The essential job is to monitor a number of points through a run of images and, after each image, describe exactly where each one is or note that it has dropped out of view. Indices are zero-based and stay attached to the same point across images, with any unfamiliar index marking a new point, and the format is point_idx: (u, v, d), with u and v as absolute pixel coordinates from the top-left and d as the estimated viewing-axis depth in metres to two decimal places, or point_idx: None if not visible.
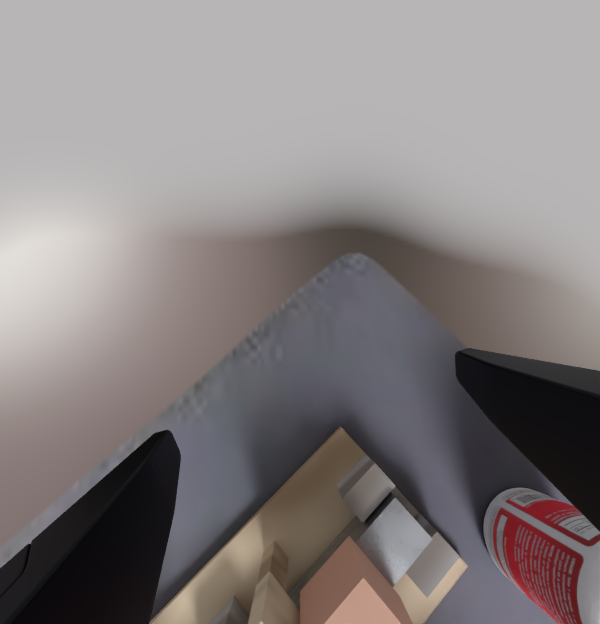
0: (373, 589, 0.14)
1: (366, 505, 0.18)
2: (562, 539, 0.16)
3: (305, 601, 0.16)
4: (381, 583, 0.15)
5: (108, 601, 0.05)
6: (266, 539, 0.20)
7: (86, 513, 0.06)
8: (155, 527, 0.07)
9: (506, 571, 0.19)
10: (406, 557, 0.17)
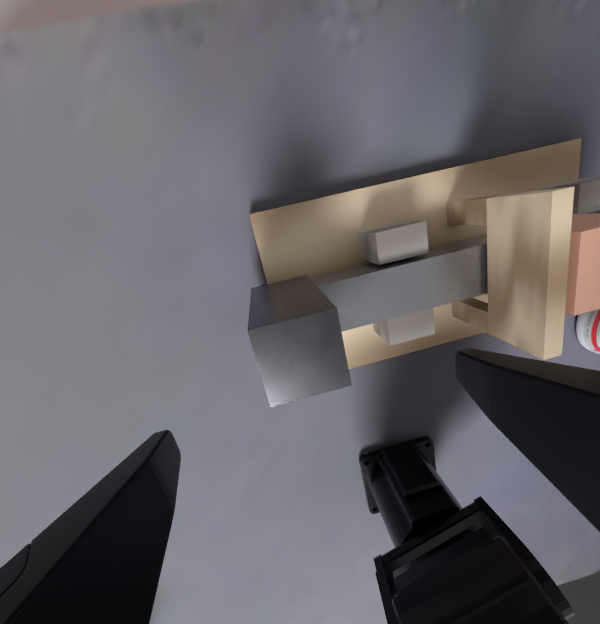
0: None
1: (591, 203, 0.17)
2: None
3: None
4: None
5: (108, 601, 0.05)
6: (454, 193, 0.19)
7: (86, 513, 0.06)
8: (155, 527, 0.07)
9: None
10: None
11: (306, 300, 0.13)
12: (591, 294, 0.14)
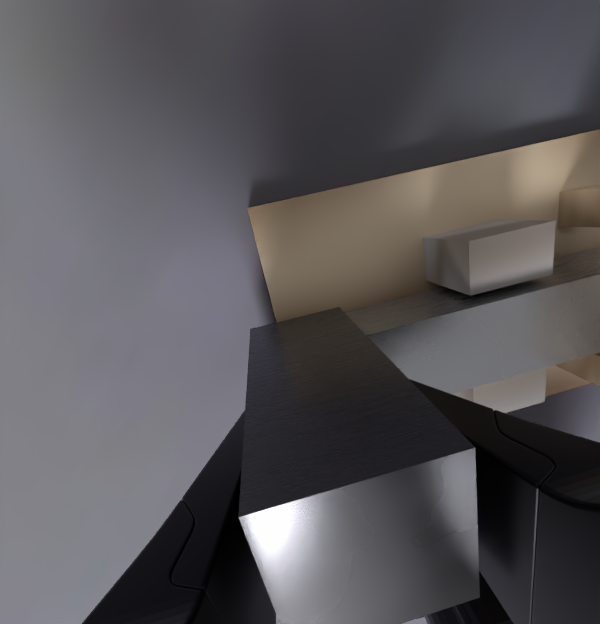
0: None
1: None
2: None
3: None
4: None
5: None
6: (574, 177, 0.12)
7: (225, 473, 0.06)
8: None
9: None
10: None
11: (367, 389, 0.06)
12: None
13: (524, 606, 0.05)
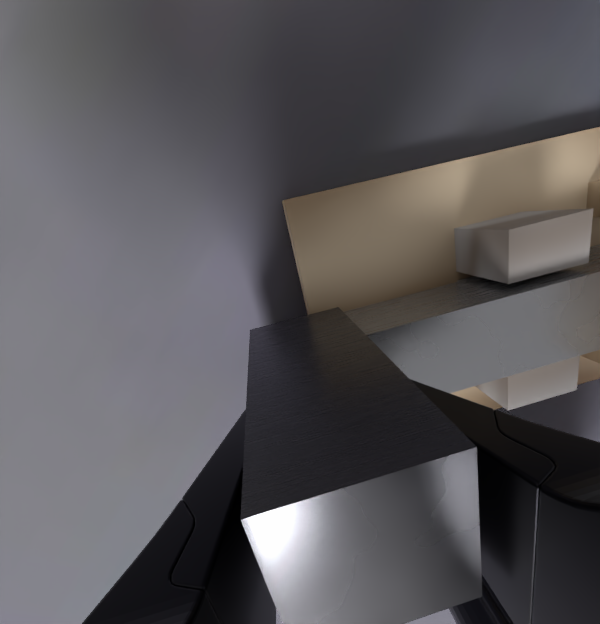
0: None
1: None
2: None
3: None
4: None
5: None
6: None
7: (225, 473, 0.06)
8: None
9: None
10: None
11: (368, 389, 0.06)
12: None
13: (525, 606, 0.05)
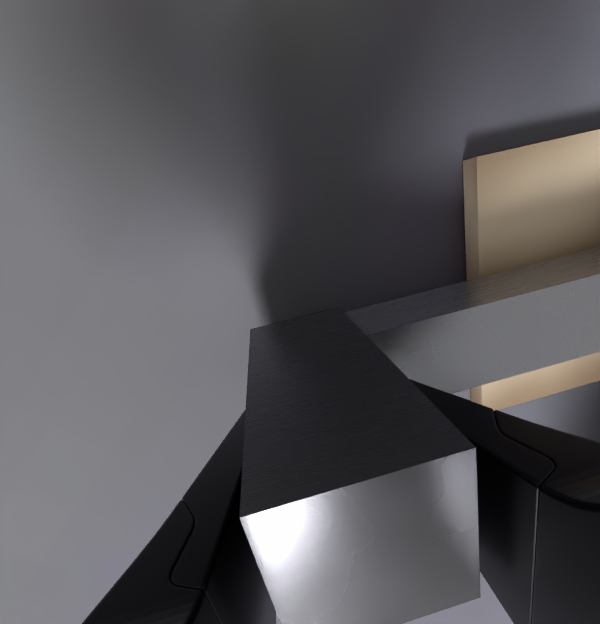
0: None
1: None
2: None
3: None
4: None
5: None
6: None
7: (225, 473, 0.06)
8: None
9: None
10: None
11: (368, 389, 0.06)
12: None
13: (524, 606, 0.05)
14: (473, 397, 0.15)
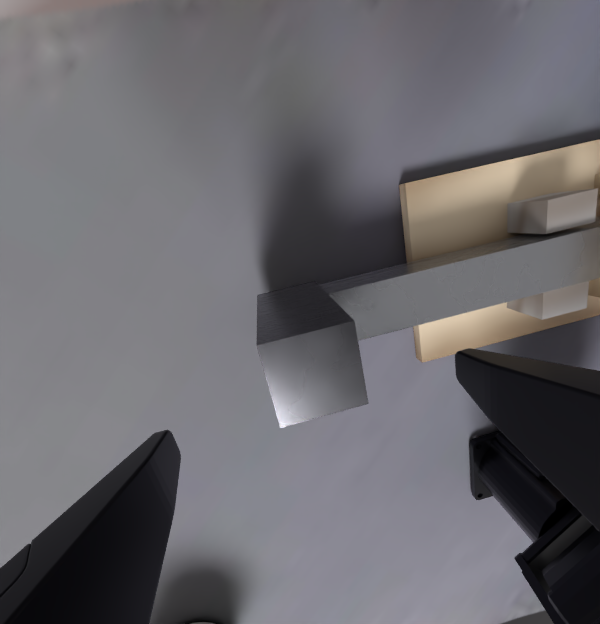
0: None
1: None
2: None
3: None
4: None
5: (108, 601, 0.05)
6: None
7: (86, 513, 0.06)
8: (155, 527, 0.07)
9: None
10: None
11: (318, 310, 0.12)
12: None
13: None
14: (417, 350, 0.21)
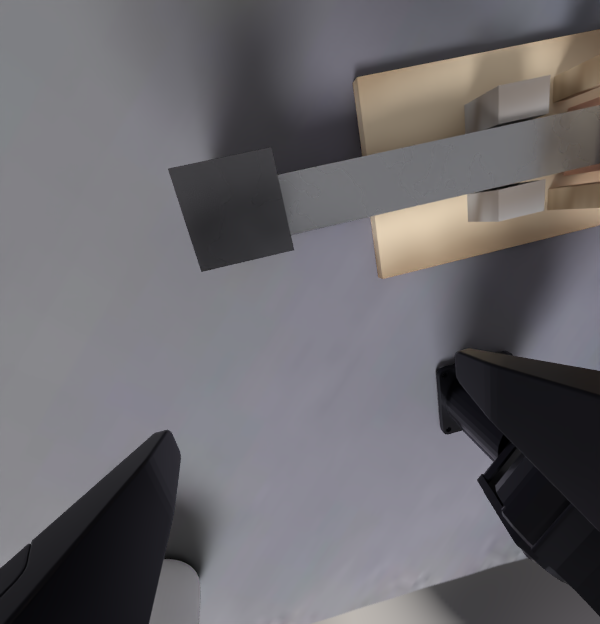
0: None
1: None
2: None
3: (597, 98, 0.17)
4: None
5: (108, 601, 0.05)
6: (563, 67, 0.18)
7: (86, 513, 0.06)
8: (155, 527, 0.07)
9: None
10: (573, 161, 0.17)
11: None
12: None
13: None
14: (378, 268, 0.21)
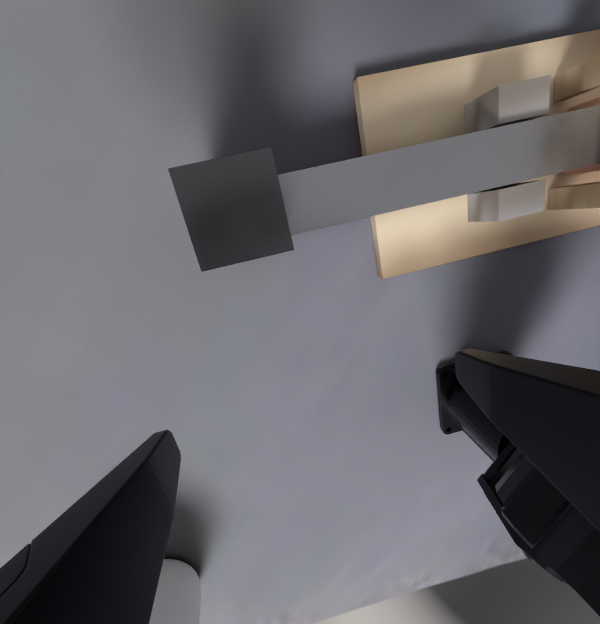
0: None
1: None
2: None
3: (597, 98, 0.17)
4: None
5: (108, 601, 0.05)
6: (563, 67, 0.18)
7: (86, 513, 0.06)
8: (155, 527, 0.07)
9: None
10: (573, 161, 0.17)
11: None
12: None
13: None
14: (378, 268, 0.21)
